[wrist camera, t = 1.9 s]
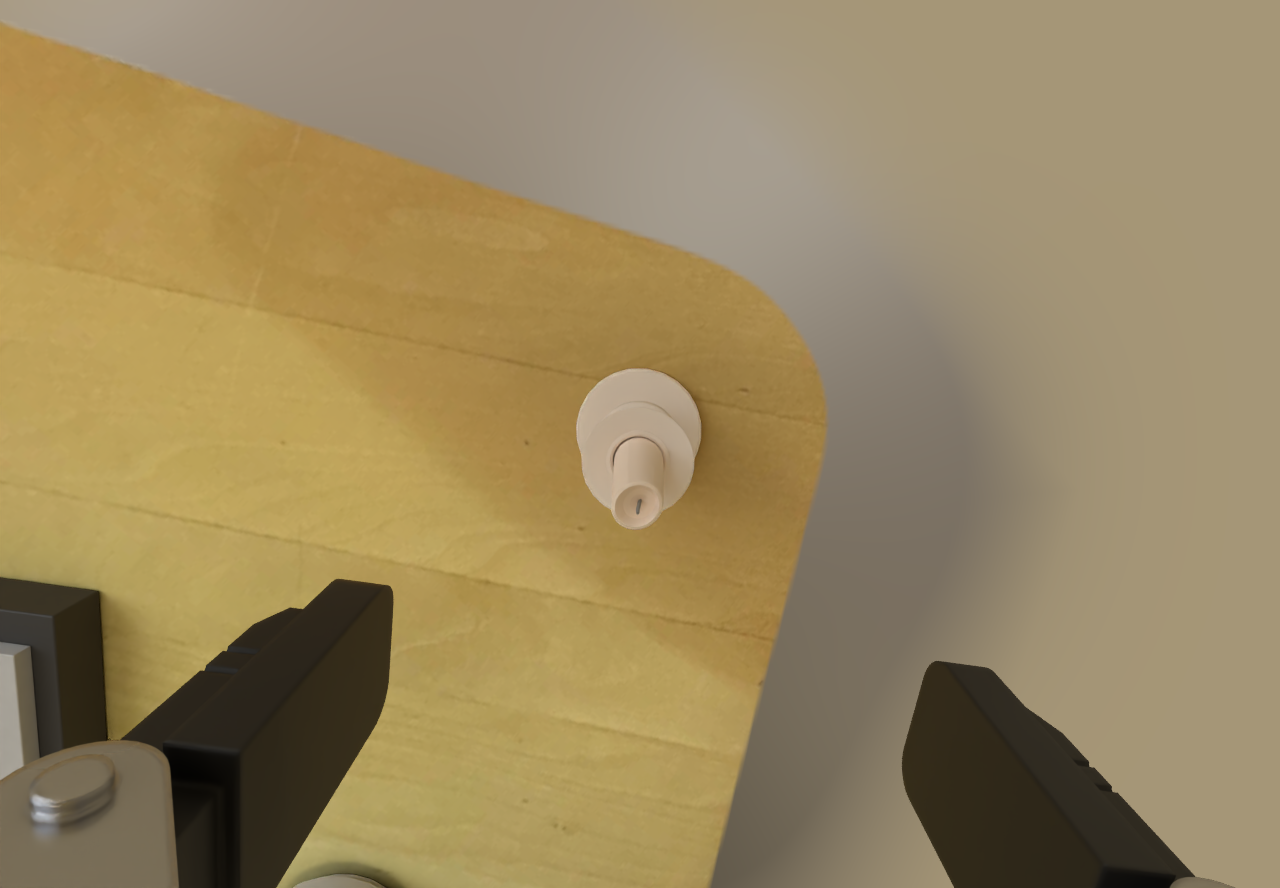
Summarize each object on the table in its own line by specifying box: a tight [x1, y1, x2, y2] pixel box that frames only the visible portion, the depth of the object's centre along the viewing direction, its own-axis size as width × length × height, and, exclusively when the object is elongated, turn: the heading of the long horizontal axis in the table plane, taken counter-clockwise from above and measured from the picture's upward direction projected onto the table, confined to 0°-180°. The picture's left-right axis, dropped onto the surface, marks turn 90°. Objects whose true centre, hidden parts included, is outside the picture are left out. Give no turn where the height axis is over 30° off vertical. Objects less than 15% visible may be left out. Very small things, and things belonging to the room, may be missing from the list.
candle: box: [576, 368, 701, 530], centre depth 23 cm, size 5×5×10 cm
